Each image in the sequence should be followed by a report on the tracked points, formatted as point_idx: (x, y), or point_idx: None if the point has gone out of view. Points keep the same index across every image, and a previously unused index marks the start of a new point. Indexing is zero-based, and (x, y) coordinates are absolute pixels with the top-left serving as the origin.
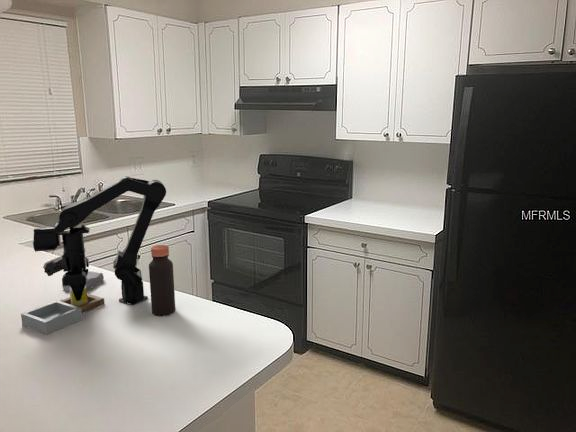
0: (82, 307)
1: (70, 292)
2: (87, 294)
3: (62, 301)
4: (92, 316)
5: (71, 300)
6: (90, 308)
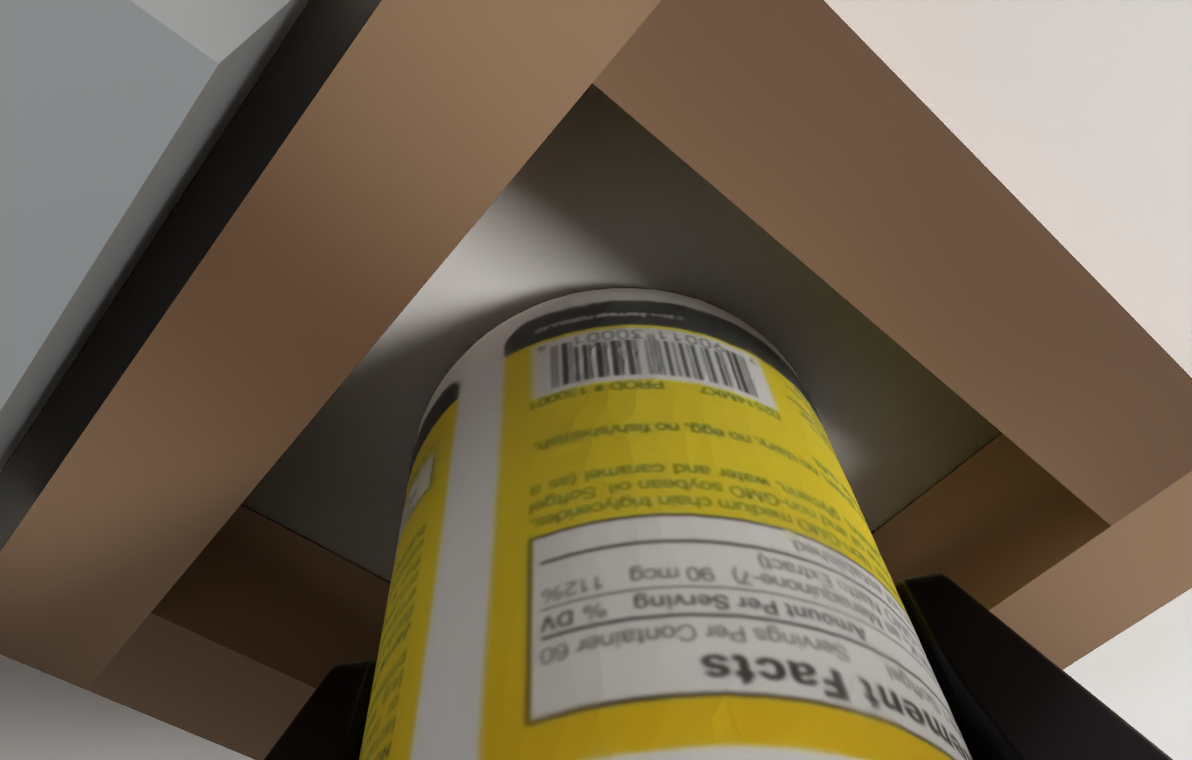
0: (162, 708)
1: (449, 736)
2: (1050, 641)
3: (664, 96)
4: (70, 750)
5: (468, 483)
6: None
